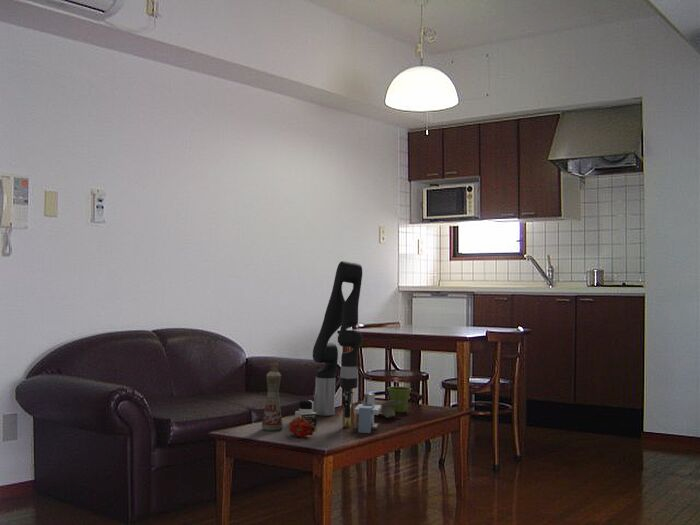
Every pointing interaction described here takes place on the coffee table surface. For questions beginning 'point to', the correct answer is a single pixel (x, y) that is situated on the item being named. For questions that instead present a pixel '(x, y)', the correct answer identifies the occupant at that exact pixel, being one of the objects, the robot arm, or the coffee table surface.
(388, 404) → the white slotted block
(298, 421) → the dragon fruit
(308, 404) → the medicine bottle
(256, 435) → the coffee table surface
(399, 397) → the plant pot
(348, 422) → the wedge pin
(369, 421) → the bracket
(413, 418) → the coffee table surface
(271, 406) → the bottle
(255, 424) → the coffee table surface
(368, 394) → the grey piece
